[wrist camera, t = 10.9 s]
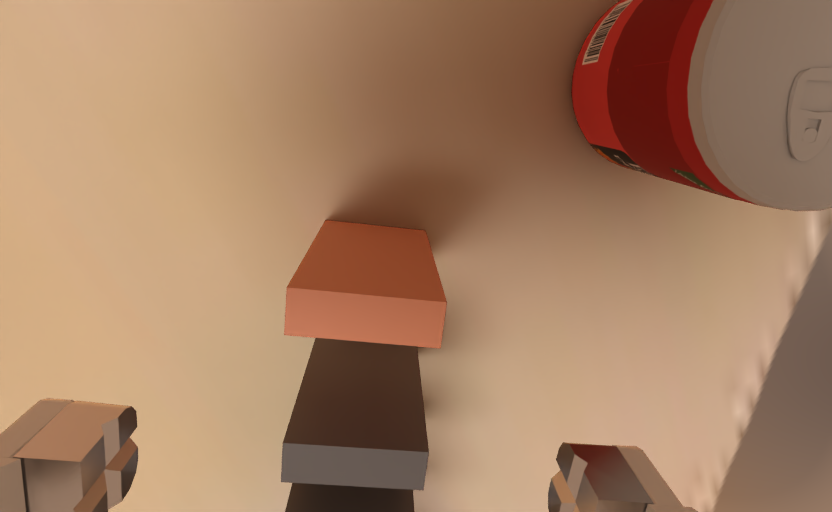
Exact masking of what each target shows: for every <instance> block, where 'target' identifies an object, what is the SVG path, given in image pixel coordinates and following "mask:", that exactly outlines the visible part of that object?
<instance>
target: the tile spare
mask: <svg viewBox="0 0 832 512" xmlns="http://www.w3.org/2000/svg"><path fill="white" fill-rule="evenodd" d="M446 305H447V301H446V298H445V294H444V291H443V288H442V284H441V281H440V278H439V274H438V271H437V267H436V264H435V261H434V257H433V254H432V251H431V247H430V244H429V241H428V237H427V234H426V231H425V230H416V229H406V228H397V227H387V226H378V225H368V224H359V223H349V222H339V221H330V220H325V222H324V224H323V226H322V227H321V229H320V231H319V232H318V234H317V236H316V238H315V239H314V241H313V243H312V245H311V246H310V248H309V250H308V252H307V253H306V255H305V257H304V258H303V260H302V262H301V264H300V265H299V267H298V269H297V271H296V272H295V274H294V276H293V278H292V279H291V281H290V283H289V285H288V286H287V293H286V312H285V331H284V335H290V336H302V337H314V338H325V339H337V340H349V341H360V342H372V343H383V344H395V345H407V346H418V347H430V348H440V347H441V340H442V333H443V326H444V319H445V312H446Z"/></svg>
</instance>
